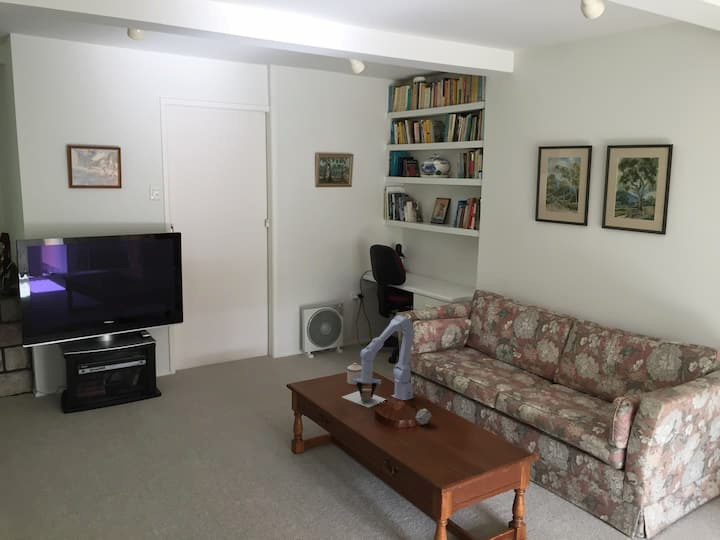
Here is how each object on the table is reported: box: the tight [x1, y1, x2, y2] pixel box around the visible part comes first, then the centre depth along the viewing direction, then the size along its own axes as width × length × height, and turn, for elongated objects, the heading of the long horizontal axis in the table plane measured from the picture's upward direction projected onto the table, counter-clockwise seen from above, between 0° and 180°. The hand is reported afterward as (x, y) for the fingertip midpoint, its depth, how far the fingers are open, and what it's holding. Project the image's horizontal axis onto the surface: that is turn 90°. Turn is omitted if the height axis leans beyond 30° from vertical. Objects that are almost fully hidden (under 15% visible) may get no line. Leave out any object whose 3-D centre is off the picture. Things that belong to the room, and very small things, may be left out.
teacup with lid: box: [346, 362, 362, 386], centre depth 353 cm, size 12×9×12 cm
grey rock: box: [412, 406, 434, 427], centre depth 296 cm, size 9×8×10 cm
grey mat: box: [341, 390, 386, 408], centre depth 328 cm, size 20×15×1 cm
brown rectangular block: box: [361, 388, 372, 401], centre depth 324 cm, size 8×5×4 cm, turn 174°
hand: (366, 396), depth 324 cm, fingers closed on brown rectangular block, 5 cm apart
